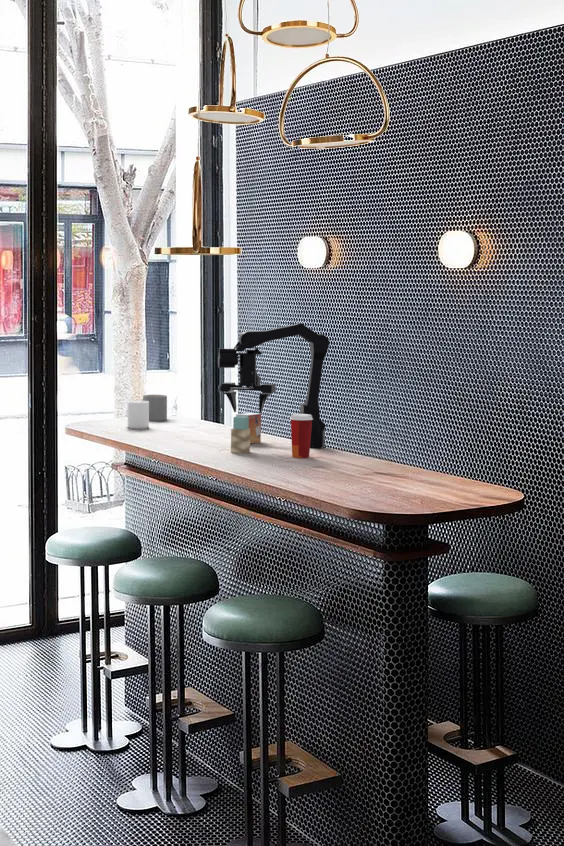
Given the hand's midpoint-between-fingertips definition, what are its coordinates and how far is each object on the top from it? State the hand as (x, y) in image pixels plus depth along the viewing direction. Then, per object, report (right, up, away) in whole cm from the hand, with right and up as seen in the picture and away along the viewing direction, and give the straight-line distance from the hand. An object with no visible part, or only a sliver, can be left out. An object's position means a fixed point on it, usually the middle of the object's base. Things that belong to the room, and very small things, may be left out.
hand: (247, 412), depth 374 cm
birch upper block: (-2, -10, -10) cm, 14 cm away
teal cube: (-2, -6, -10) cm, 12 cm away
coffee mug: (-42, -2, +77) cm, 88 cm away
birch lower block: (-2, -14, -9) cm, 17 cm away
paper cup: (+18, -15, -18) cm, 29 cm away
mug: (-46, -6, +50) cm, 68 cm away
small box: (0, -11, +13) cm, 17 cm away
